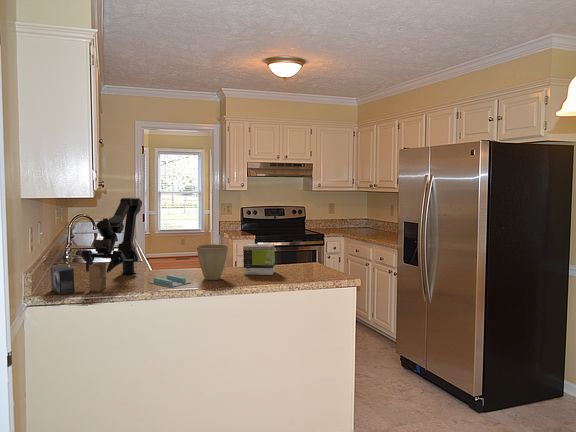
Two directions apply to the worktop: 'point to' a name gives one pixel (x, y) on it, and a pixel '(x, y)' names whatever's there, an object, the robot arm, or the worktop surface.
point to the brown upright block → (97, 276)
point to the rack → (170, 281)
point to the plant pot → (212, 260)
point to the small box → (62, 279)
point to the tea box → (259, 259)
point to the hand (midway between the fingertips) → (97, 271)
